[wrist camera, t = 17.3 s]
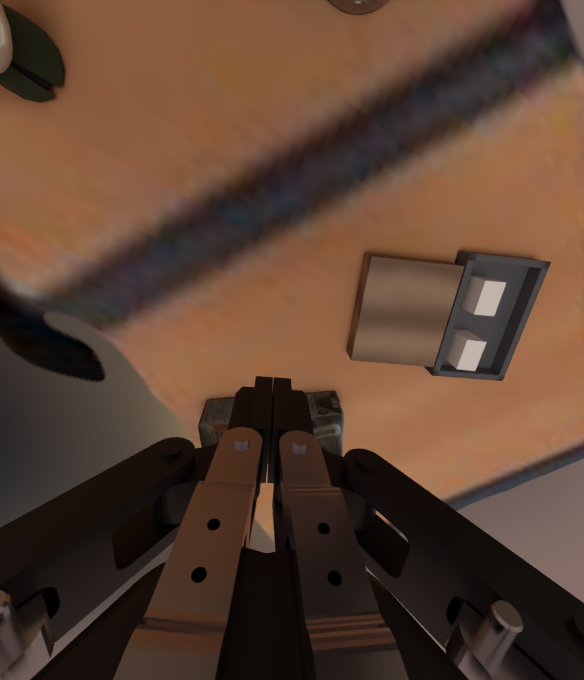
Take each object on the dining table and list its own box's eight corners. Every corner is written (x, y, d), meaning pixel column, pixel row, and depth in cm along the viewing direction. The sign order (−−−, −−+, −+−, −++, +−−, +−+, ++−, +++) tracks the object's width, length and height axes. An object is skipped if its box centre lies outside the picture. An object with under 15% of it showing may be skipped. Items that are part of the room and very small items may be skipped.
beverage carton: (336, 433, 48) (345, 465, 42) (212, 441, 48) (202, 474, 42) (336, 388, 45) (345, 416, 39) (204, 397, 45) (192, 426, 39)
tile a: (485, 280, 35) (506, 282, 35) (465, 274, 39) (484, 276, 39) (474, 314, 36) (494, 316, 37) (455, 305, 40) (474, 306, 40)
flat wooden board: (364, 253, 38) (371, 256, 35) (451, 262, 39) (464, 266, 36) (346, 350, 43) (351, 360, 40) (423, 357, 43) (433, 366, 41)
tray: (458, 250, 38) (470, 253, 36) (534, 259, 39) (551, 262, 37) (424, 366, 44) (432, 375, 42) (490, 372, 45) (502, 380, 43)
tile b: (467, 339, 38) (486, 342, 38) (450, 328, 41) (468, 330, 42) (456, 369, 39) (475, 371, 39) (441, 355, 43) (458, 357, 43)
